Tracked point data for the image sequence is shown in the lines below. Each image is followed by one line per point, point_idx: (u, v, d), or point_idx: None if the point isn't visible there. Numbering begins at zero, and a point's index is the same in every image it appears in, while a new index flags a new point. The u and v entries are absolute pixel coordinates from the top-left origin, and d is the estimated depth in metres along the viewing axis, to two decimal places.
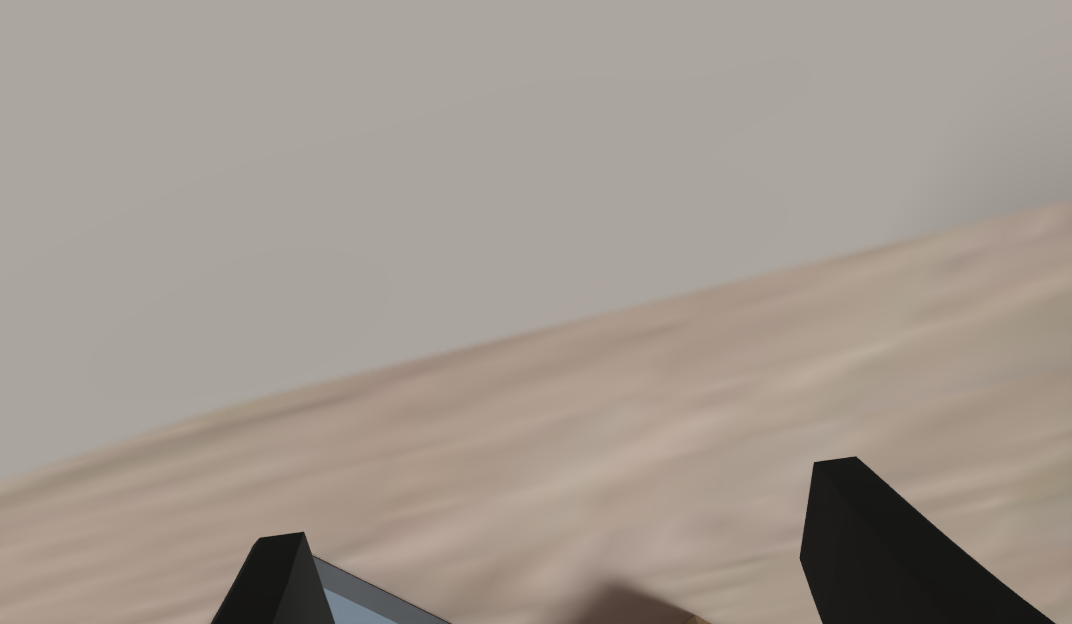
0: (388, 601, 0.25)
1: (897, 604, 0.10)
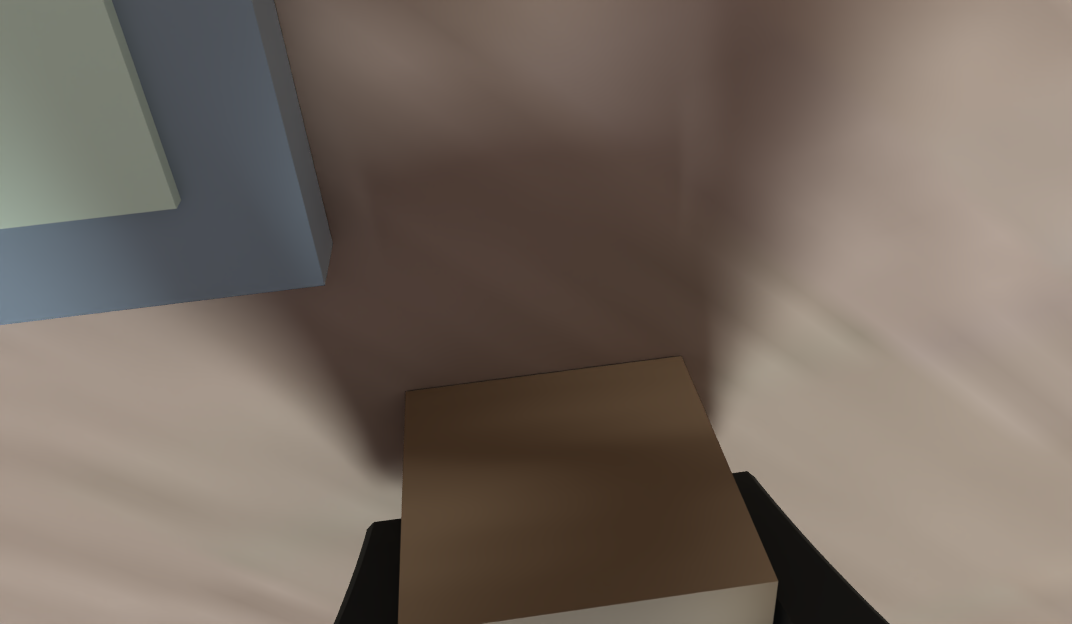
0: None
1: None
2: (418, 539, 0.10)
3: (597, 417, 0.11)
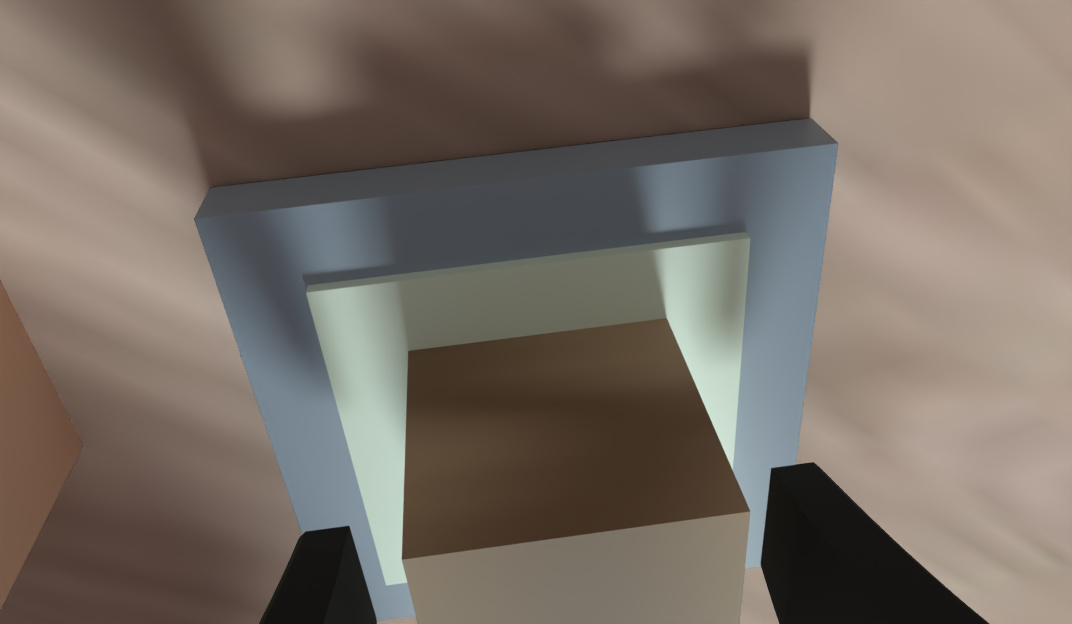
0: None
1: (846, 612, 0.10)
2: (420, 478, 0.10)
3: (587, 372, 0.12)
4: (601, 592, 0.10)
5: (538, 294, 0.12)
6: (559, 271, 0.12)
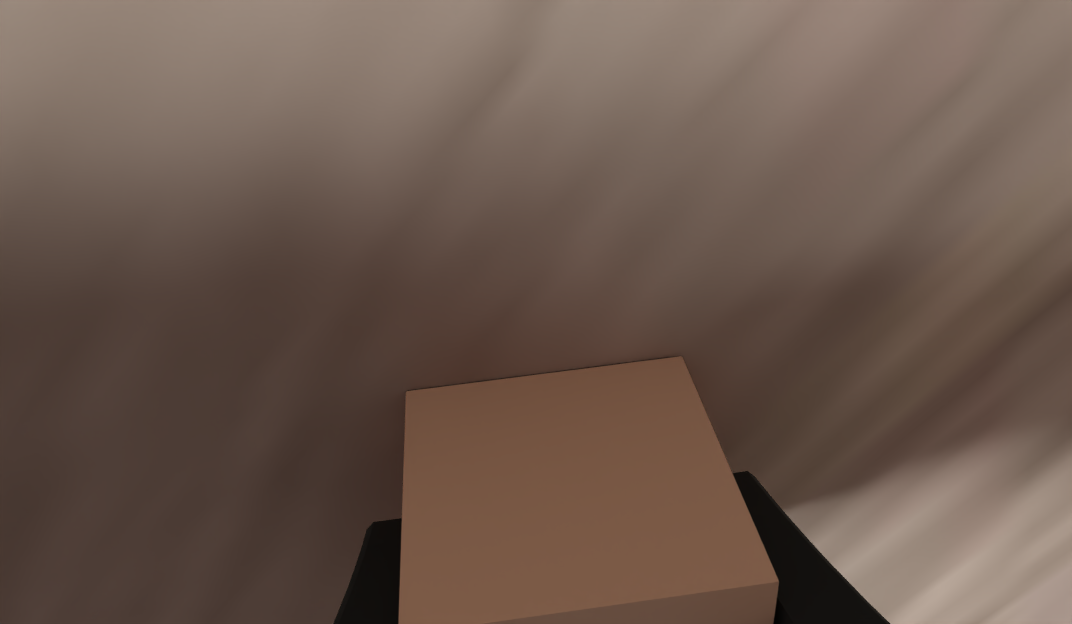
0: None
1: None
2: None
3: None
4: None
5: None
6: None
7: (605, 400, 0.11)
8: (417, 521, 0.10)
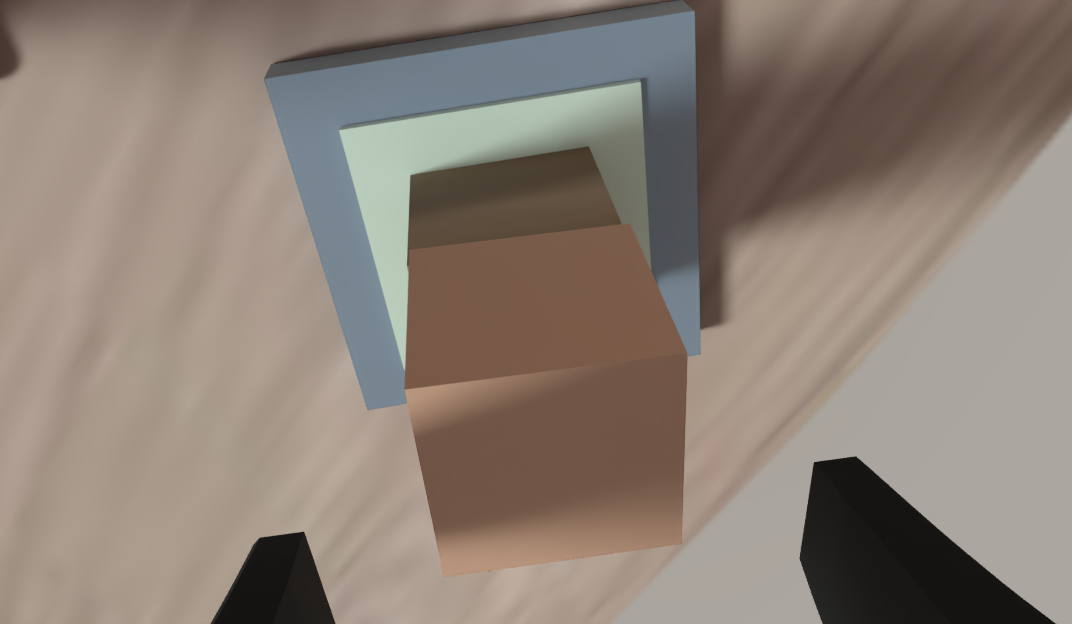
0: None
1: (897, 604, 0.10)
2: None
3: None
4: None
5: (626, 222, 0.20)
6: (641, 232, 0.20)
7: (566, 251, 0.14)
8: (418, 326, 0.13)
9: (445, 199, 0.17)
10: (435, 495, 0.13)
